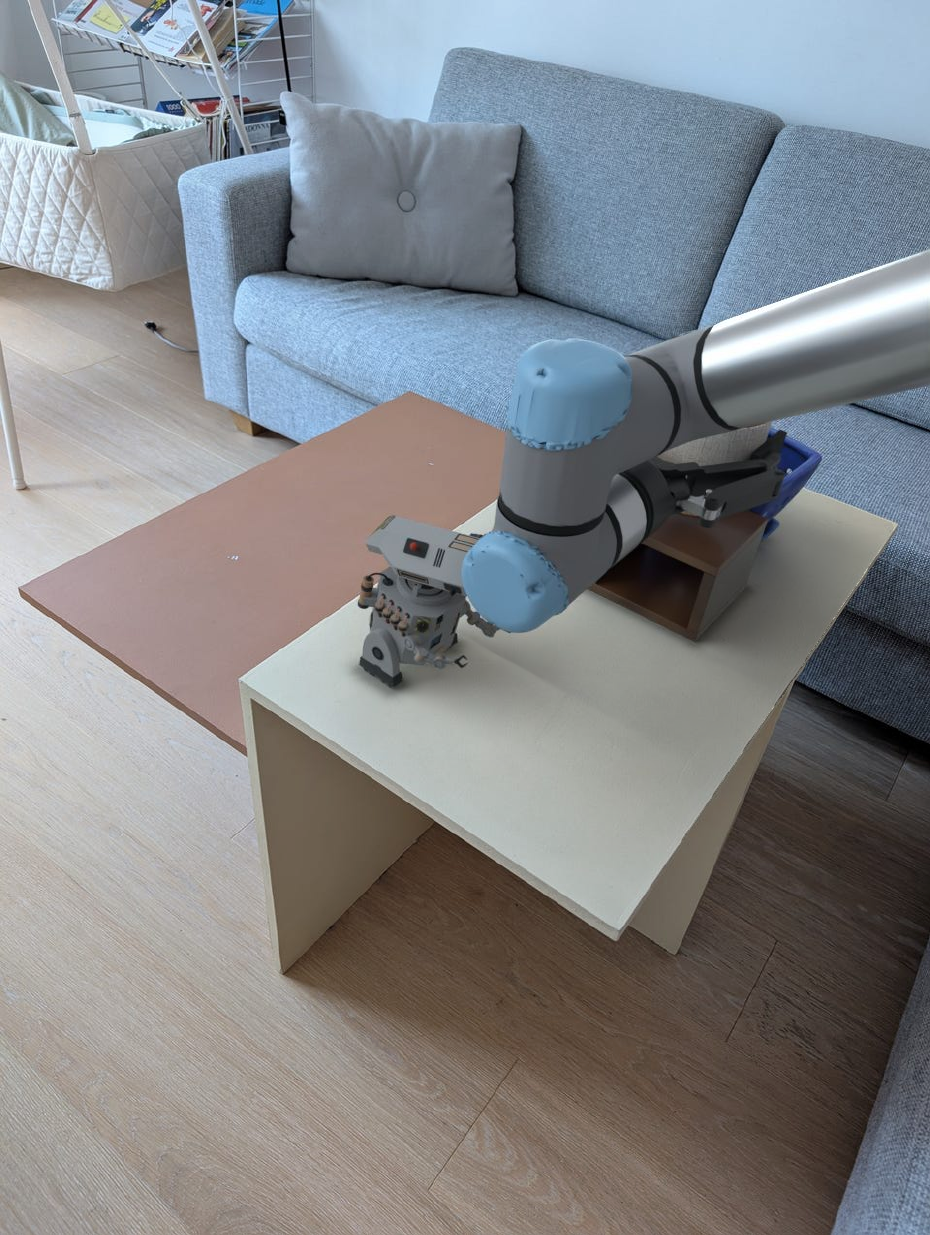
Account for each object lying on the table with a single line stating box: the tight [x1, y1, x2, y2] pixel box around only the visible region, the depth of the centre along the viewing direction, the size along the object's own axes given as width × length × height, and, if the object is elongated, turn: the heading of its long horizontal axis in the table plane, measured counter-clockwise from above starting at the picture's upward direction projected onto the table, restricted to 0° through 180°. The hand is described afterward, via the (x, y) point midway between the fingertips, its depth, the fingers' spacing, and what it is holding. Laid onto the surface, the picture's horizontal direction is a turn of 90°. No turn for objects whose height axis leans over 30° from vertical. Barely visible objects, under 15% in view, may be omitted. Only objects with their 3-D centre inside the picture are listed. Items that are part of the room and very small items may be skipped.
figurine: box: [357, 514, 512, 689], centre depth 77 cm, size 9×12×15 cm
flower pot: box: [748, 426, 823, 543], centre depth 99 cm, size 13×13×12 cm
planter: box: [657, 421, 773, 518], centre depth 84 cm, size 11×11×10 cm
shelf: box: [587, 510, 768, 642], centre depth 92 cm, size 13×12×9 cm
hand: (723, 423), depth 86 cm, fingers closed on planter, 11 cm apart
